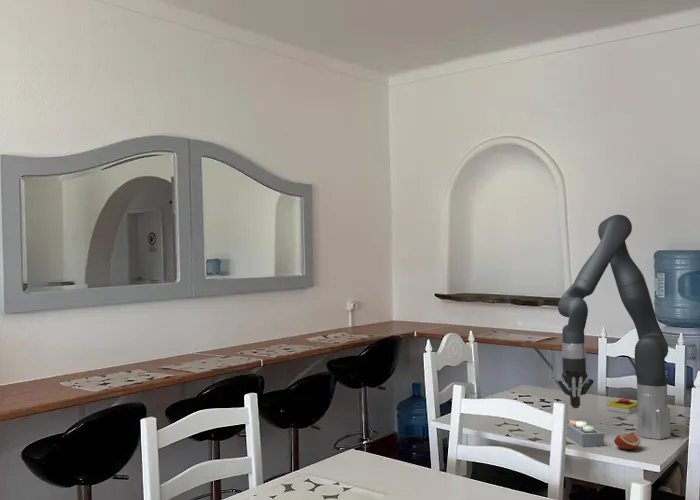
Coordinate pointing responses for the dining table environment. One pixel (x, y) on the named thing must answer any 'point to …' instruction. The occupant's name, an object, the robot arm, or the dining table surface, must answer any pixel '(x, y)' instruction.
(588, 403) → the dining table surface
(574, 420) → the terracotta button
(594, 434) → the console
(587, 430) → the sage button
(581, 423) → the cream button
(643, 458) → the dining table surface
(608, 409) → the emergency button
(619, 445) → the fruit slice
